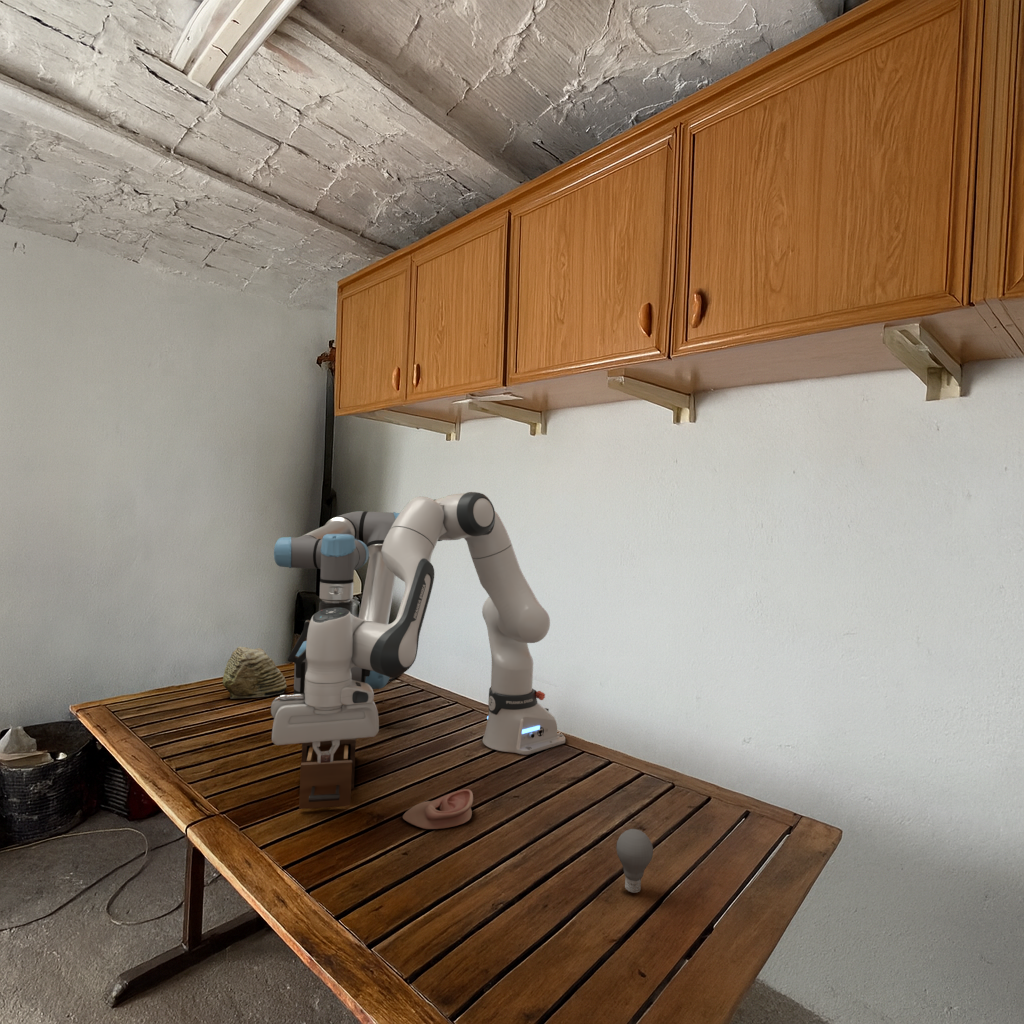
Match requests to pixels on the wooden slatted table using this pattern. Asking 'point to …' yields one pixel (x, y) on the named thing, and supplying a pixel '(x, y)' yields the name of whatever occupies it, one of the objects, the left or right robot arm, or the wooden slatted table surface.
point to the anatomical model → (442, 811)
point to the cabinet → (345, 741)
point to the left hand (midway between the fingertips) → (332, 690)
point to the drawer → (326, 779)
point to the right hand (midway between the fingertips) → (325, 761)
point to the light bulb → (634, 857)
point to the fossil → (252, 674)
